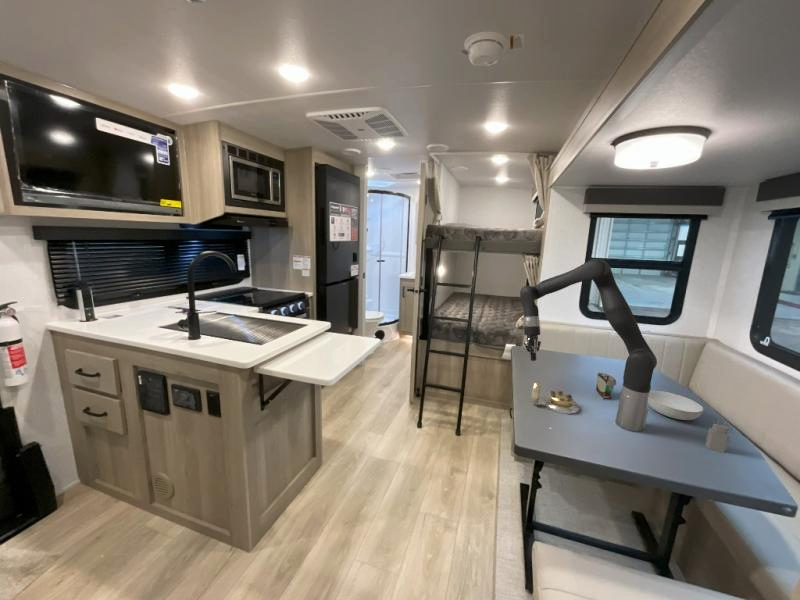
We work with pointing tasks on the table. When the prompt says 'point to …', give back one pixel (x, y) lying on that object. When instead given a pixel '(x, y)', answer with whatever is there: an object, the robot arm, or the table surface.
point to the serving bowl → (674, 405)
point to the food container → (605, 385)
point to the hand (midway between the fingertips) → (533, 360)
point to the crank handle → (551, 397)
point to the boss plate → (563, 410)
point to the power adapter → (717, 437)
